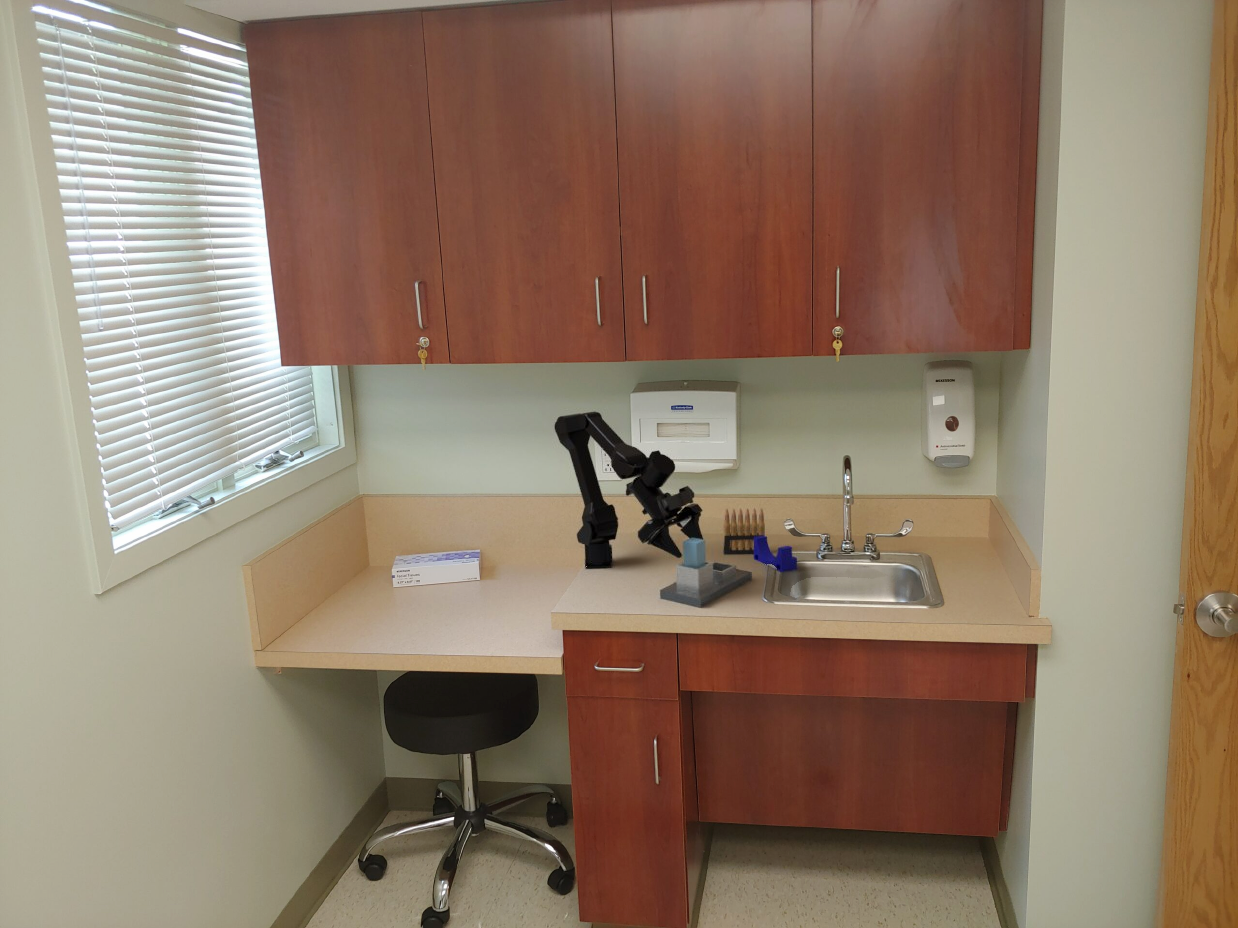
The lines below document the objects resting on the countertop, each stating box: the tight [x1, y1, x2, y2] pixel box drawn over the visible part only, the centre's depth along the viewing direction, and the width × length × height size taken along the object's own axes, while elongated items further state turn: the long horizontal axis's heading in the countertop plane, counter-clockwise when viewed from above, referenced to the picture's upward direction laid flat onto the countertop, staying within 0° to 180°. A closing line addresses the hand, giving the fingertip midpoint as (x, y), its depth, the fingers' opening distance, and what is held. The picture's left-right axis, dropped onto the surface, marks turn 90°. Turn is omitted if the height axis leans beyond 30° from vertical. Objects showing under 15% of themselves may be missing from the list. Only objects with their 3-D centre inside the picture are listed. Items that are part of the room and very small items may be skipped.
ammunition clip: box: [722, 507, 766, 556], centre depth 252 cm, size 11×2×12 cm, turn 86°
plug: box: [682, 538, 707, 569], centre depth 222 cm, size 4×4×7 cm
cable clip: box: [753, 535, 798, 573], centre depth 244 cm, size 12×4×6 cm, turn 26°
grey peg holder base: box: [659, 560, 753, 609], centre depth 227 cm, size 22×11×8 cm, turn 142°
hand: (692, 551), depth 222 cm, fingers open, 9 cm apart
